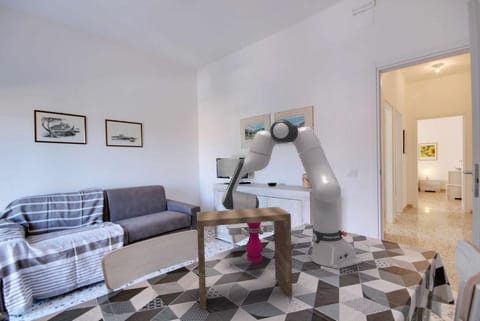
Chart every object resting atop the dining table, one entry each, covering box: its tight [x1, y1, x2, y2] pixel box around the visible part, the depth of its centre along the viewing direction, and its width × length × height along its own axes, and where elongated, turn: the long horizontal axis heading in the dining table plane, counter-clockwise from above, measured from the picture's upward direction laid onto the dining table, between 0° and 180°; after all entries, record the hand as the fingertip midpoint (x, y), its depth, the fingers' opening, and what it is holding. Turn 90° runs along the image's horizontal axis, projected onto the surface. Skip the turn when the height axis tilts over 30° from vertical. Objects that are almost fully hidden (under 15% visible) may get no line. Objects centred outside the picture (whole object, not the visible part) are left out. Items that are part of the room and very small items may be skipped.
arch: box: [196, 206, 293, 310], centre depth 87 cm, size 32×12×29 cm, turn 101°
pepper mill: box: [245, 222, 264, 263], centre depth 101 cm, size 7×7×20 cm
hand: (254, 233), depth 100 cm, fingers closed on pepper mill, 5 cm apart
